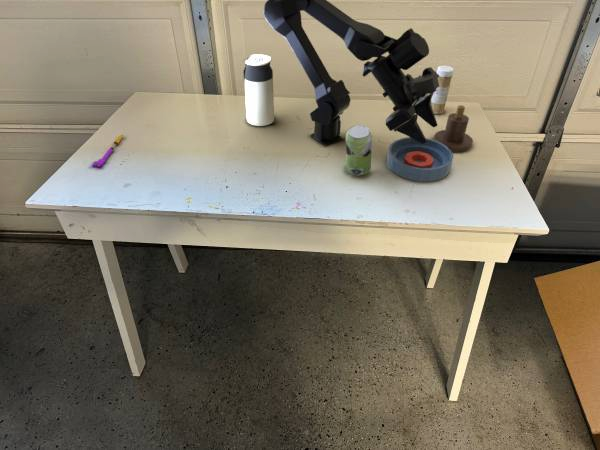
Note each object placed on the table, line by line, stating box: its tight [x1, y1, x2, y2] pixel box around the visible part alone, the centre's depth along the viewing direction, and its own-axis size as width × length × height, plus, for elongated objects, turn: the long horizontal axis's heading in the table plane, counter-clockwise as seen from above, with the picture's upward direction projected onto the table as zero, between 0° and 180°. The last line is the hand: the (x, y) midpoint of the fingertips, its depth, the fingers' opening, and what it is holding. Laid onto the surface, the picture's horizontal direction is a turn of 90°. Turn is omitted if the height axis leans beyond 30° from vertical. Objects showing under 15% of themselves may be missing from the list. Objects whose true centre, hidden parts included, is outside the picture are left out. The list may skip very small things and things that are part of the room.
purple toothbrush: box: [91, 134, 124, 168], centre depth 116 cm, size 3×1×16 cm
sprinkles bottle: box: [431, 65, 455, 115], centre depth 132 cm, size 5×5×13 cm
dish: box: [386, 136, 454, 182], centre depth 111 cm, size 16×16×4 cm
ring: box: [404, 151, 434, 168], centre depth 112 cm, size 7×7×2 cm
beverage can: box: [345, 124, 373, 176], centre depth 106 cm, size 6×7×12 cm
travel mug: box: [243, 53, 275, 127], centre depth 125 cm, size 8×8×18 cm
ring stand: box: [433, 104, 474, 154], centre depth 118 cm, size 10×10×11 cm
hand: (430, 134), depth 106 cm, fingers open, 9 cm apart
